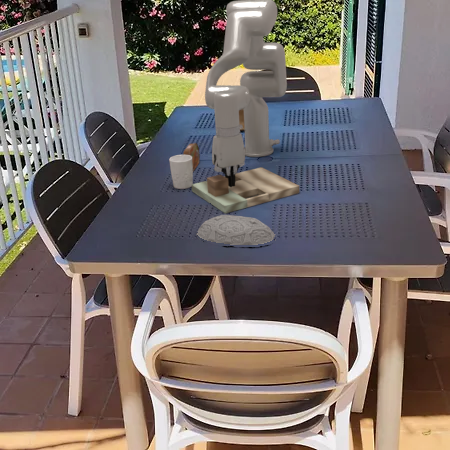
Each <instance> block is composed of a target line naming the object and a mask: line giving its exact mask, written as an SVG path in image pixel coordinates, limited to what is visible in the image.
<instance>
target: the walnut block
mask: <svg viewBox="0 0 450 450" xmlns="http://www.w3.org/2000/svg"><path fill="white" fill-rule="evenodd" d="M224 176H225V175H222V174H217V175H216V174H215V175H212V176H208V177H206V181H207V187H208V193H210V194H211V195H213V196H215V197H217V196H221V195H224V194H228V193H229V187H228V178H226V177H224Z"/></svg>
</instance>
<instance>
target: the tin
mask: <svg viewBox="0 0 450 450" xmlns="http://www.w3.org/2000/svg"><path fill="white" fill-rule="evenodd" d="M182 155H190V156H192V166H193V172H194V171H195V170H196V168H197V167H198V166H199V164H200V160H201V159H200V157H201V155H200V148H199V145H198V143H196V142H193V143H189V144H188V145H187V146H186V148H184V150H183V153H182Z"/></svg>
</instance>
